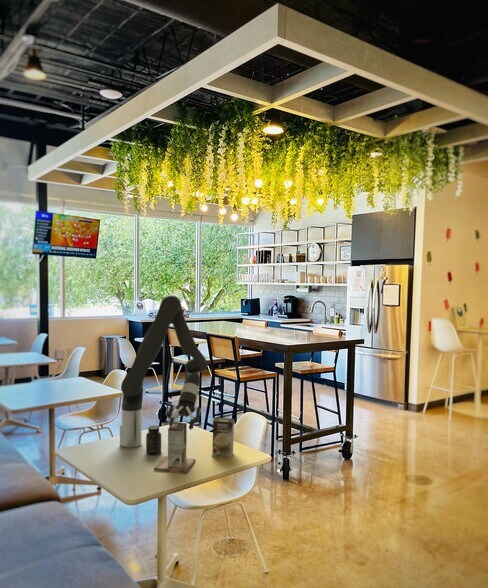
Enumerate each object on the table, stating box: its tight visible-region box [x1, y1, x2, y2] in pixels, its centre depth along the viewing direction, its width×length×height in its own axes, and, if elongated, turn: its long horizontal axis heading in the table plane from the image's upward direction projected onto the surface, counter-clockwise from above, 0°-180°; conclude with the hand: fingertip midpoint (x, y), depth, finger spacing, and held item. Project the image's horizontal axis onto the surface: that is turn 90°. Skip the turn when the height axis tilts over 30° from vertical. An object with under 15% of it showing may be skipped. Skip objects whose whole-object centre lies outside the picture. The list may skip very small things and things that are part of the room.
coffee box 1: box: [167, 421, 188, 467], centre depth 203 cm, size 9×6×16 cm
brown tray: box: [153, 455, 196, 474], centre depth 203 cm, size 14×13×1 cm
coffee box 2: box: [211, 416, 235, 459], centre depth 217 cm, size 9×6×16 cm
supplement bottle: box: [145, 425, 162, 456], centre depth 217 cm, size 7×7×12 cm
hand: (180, 428), depth 207 cm, fingers open, 8 cm apart
